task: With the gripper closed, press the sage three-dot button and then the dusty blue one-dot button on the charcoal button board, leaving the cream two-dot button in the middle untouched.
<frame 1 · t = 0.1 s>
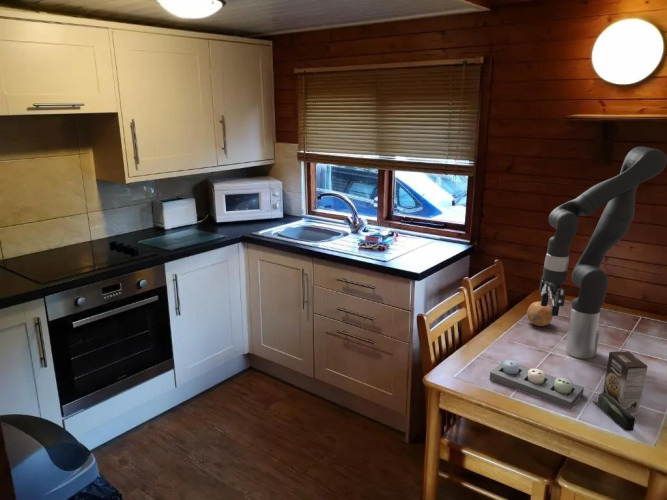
hand: (548, 310, 183), 17 cm above the table, tool pointing down, fingers open, 8 cm apart
cream button: (536, 376, 167), point 4 cm above the table, slide at 0.0 cm
button board: (534, 386, 168), on the table
mobile phone: (611, 417, 153), on the table
sage button: (563, 386, 162), point 4 cm above the table, slide at 0.0 cm
coffee box: (619, 406, 158), on the table
blue button: (510, 367, 173), point 4 cm above the table, slide at 0.0 cm
tan round ball: (538, 325, 212), on the table
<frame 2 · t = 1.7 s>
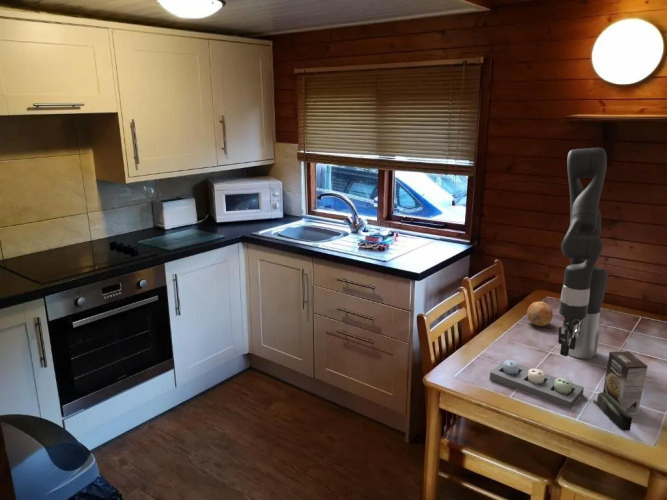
hand: (567, 351, 158), 15 cm above the table, tool pointing down, fingers open, 5 cm apart
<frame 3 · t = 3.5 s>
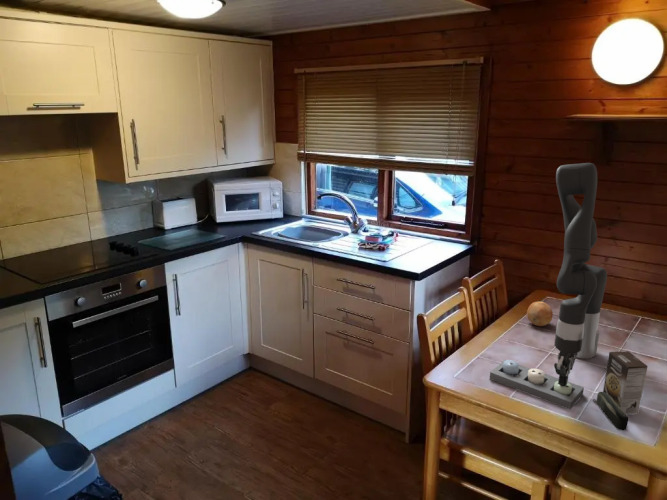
hand: (562, 384, 162), 4 cm above the table, tool pointing down, fingers closed
sage button: (562, 389, 162), point 2 cm above the table, slide at 1.1 cm
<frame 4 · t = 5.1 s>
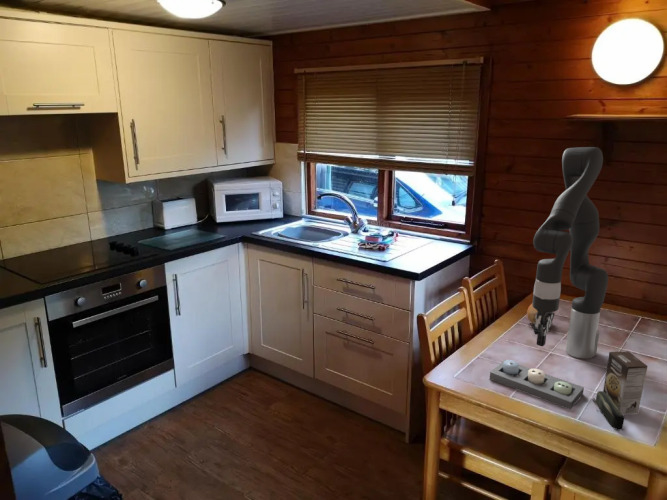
hand: (540, 344, 164), 15 cm above the table, tool pointing down, fingers closed
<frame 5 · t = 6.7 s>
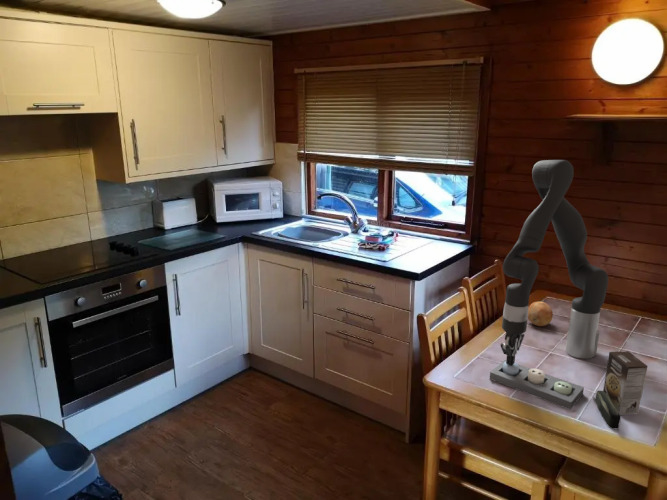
hand: (510, 364, 173), 5 cm above the table, tool pointing down, fingers closed
blue button: (510, 368, 173), point 3 cm above the table, slide at 0.5 cm, touching gripper
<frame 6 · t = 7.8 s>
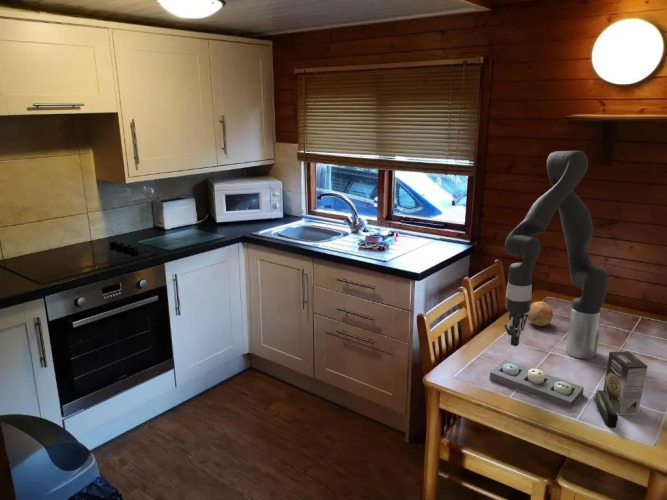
hand: (514, 345, 170), 12 cm above the table, tool pointing down, fingers closed
blue button: (510, 370, 173), point 2 cm above the table, slide at 1.3 cm
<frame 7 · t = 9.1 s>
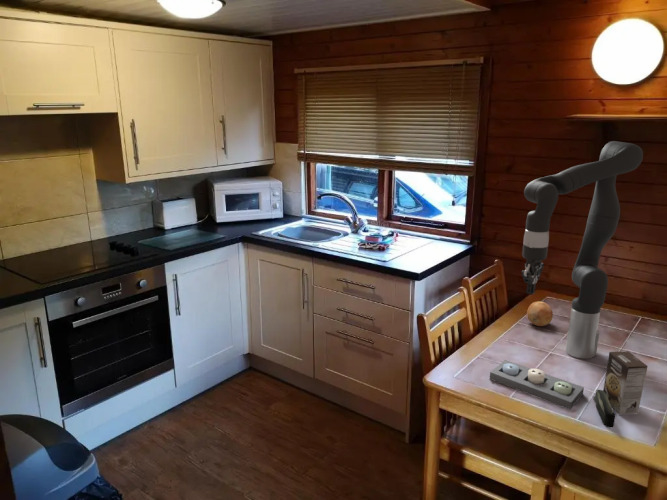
hand: (530, 293, 173), 27 cm above the table, tool pointing down, fingers closed
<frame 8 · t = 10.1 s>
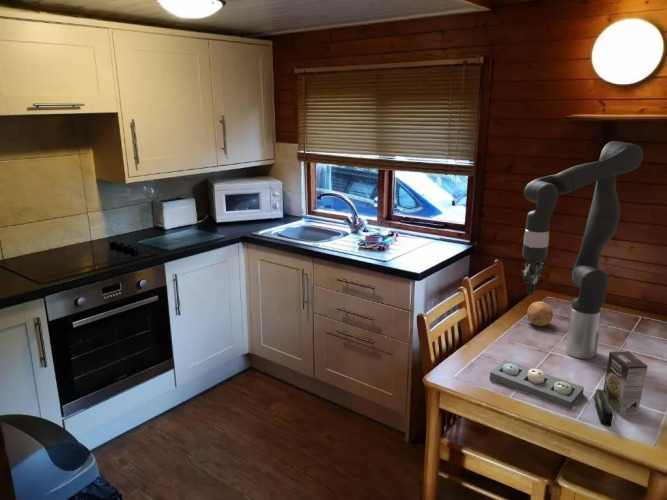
hand: (530, 293, 173), 27 cm above the table, tool pointing down, fingers closed
at the end: sage button slide at 1.3 cm; blue button slide at 1.3 cm; cream button slide at 0.0 cm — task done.
